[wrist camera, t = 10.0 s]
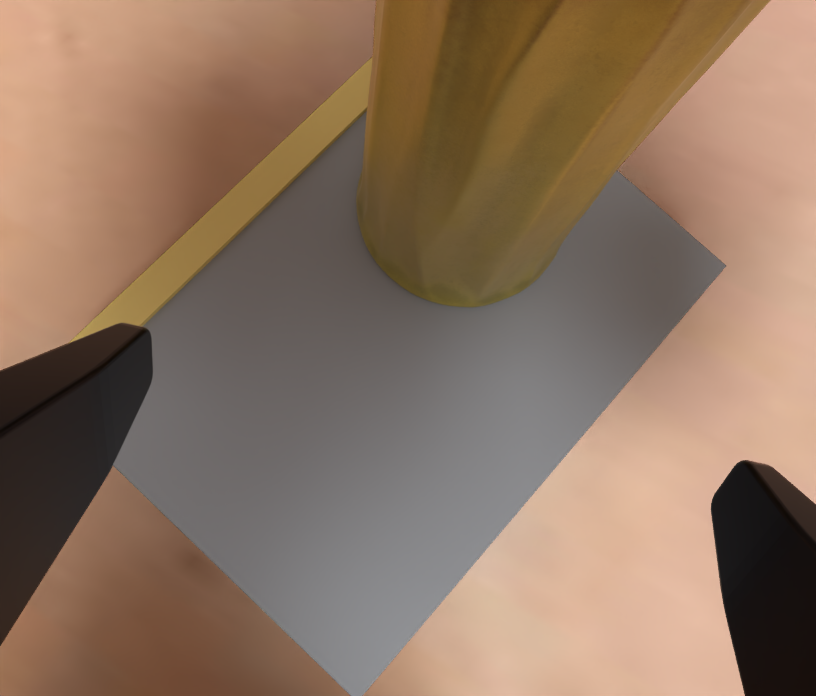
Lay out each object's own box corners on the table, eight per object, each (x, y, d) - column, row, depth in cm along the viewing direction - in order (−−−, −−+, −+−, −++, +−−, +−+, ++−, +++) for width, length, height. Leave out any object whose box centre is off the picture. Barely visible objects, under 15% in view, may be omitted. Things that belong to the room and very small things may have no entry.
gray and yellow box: (358, 668, 19) (357, 705, 16) (72, 392, 19) (25, 383, 17) (684, 287, 21) (730, 263, 19) (422, 56, 22) (429, 2, 19)
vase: (604, 231, 19) (1339, -437, 5) (440, 351, 18) (730, -23, 4) (479, 75, 19) (796, -955, 5) (314, 183, 18) (146, -709, 4)
